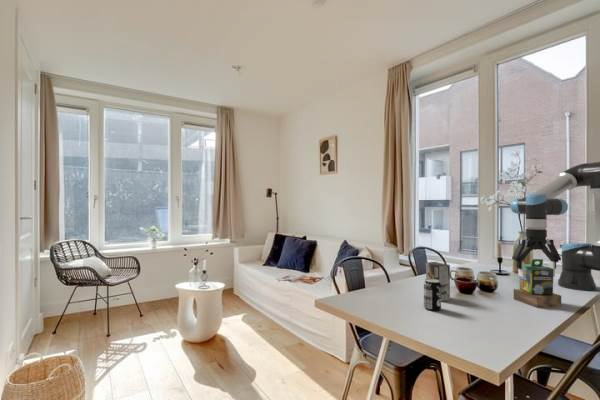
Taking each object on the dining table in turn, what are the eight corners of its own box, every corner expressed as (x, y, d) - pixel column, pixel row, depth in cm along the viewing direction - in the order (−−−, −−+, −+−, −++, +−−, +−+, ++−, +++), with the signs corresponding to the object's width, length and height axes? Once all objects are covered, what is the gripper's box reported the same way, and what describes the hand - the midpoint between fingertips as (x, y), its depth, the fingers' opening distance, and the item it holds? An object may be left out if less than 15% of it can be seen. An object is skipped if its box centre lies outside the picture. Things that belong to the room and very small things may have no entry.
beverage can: (440, 307, 134) (440, 279, 134) (441, 312, 128) (441, 282, 128) (423, 305, 136) (423, 277, 136) (424, 310, 130) (424, 281, 130)
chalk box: (539, 289, 145) (540, 257, 144) (554, 295, 135) (554, 261, 135) (518, 288, 145) (519, 256, 145) (531, 294, 136) (532, 260, 136)
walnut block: (536, 298, 147) (536, 288, 147) (561, 307, 135) (561, 295, 135) (513, 300, 145) (513, 289, 145) (537, 308, 133) (537, 297, 133)
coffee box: (450, 300, 144) (450, 265, 144) (439, 301, 142) (439, 265, 142) (436, 294, 152) (436, 261, 152) (425, 295, 150) (425, 262, 150)
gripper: (556, 227, 144) (557, 274, 144) (502, 227, 144) (503, 274, 144) (571, 229, 137) (571, 278, 137) (514, 229, 137) (514, 278, 136)
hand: (536, 276), depth 140 cm, fingers open, 13 cm apart
